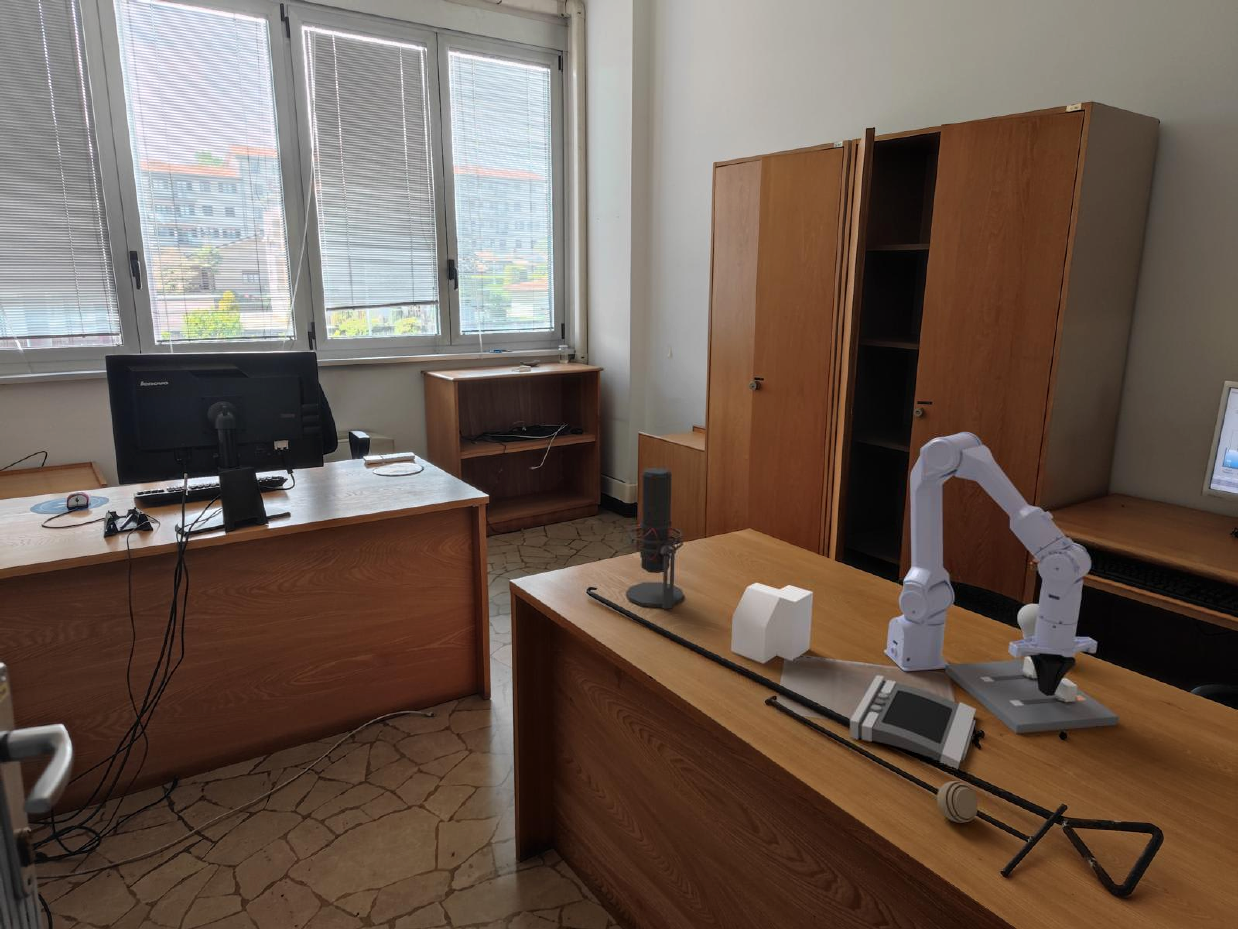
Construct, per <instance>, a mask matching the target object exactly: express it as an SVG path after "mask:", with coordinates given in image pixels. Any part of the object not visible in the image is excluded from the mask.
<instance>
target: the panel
mask: <svg viewBox="0 0 1238 929" xmlns="http://www.w3.org/2000/svg"><path fill="white" fill-rule="evenodd" d="M1023 667H1024V659H1014V660H1013V659H1012V660H999V661H998V660H997V661H984V662H983V661H982V662H971V663H970V662H968V663H956V664H955V663H953V664H950V665H946V668H944V670H945V671H944V674H946V675H947V674H948V675H947V676H949V677H950V678H951V679H952V680H953V681H954V682H956V683H957V684H958V685H959V687H961V688H962V689H964V691H965V692H967V693H968V694H970V696H972V697H973V698H974V699H976V700H977V701H978V702H979V703H980V704H981V705H982V706H983V707H984V708H985V709H987V710H988V711H989V712H990V713H992V715H993V716H995V717H996V718H997V719H999V720H1000V721H1001V722H1002V723H1003V724H1005V726H1006V727H1008V728H1009V729H1010V730H1011V731H1013V732H1014V733H1015V734H1024V733H1025V734H1026V733H1036V732H1050V731H1060V730H1072V729H1084V728H1085V729H1086V728H1095V727H1096V726H1098V727H1107V726H1117V725H1118V724H1119V723H1118V722H1119V715H1117V714H1116V713H1114V712H1113V711H1112V710H1110V709H1108V708H1107V707H1105V705H1102V704H1101V703H1100V702H1098V701H1097V700H1096V699H1095V698H1093V697H1091V695H1088V694H1087V693H1085V691H1082V690H1081V689H1080V688H1078V687H1077V693H1076V697H1078V698H1077V700H1075V701H1071V702H1065V701H1060V700H1059V699H1057V698H1056V697H1054V696H1046V695H1045V694H1043V693H1042V692H1040V691H1039V688H1038V681H1037V678H1032V677H1031V678H1028V677H1027V676H1025V675H1024V674H1023V673H1021V670H1023ZM1094 726H1095V727H1094ZM1096 728H1097V727H1096Z"/></svg>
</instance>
